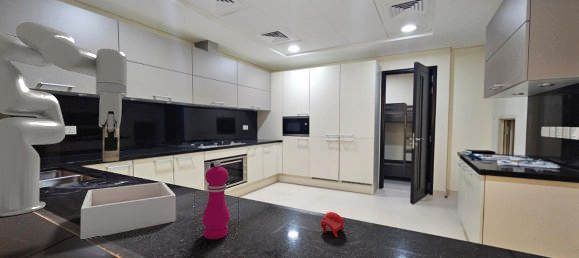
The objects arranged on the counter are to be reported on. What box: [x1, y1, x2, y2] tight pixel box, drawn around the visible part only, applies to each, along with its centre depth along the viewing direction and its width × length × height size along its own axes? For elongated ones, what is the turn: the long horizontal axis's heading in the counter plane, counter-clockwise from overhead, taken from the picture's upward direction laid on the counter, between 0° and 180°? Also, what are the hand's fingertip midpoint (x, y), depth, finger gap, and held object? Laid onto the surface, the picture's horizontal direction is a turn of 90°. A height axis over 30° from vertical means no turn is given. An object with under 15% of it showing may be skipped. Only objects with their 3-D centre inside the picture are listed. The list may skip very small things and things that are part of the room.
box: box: [79, 181, 177, 240], centre depth 74 cm, size 22×22×8 cm
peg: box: [102, 125, 120, 162], centre depth 72 cm, size 4×4×12 cm
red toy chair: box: [320, 211, 345, 238], centre depth 66 cm, size 8×6×6 cm
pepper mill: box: [201, 160, 231, 240], centre depth 64 cm, size 7×7×20 cm
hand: (111, 149), depth 72 cm, fingers closed on peg, 4 cm apart
